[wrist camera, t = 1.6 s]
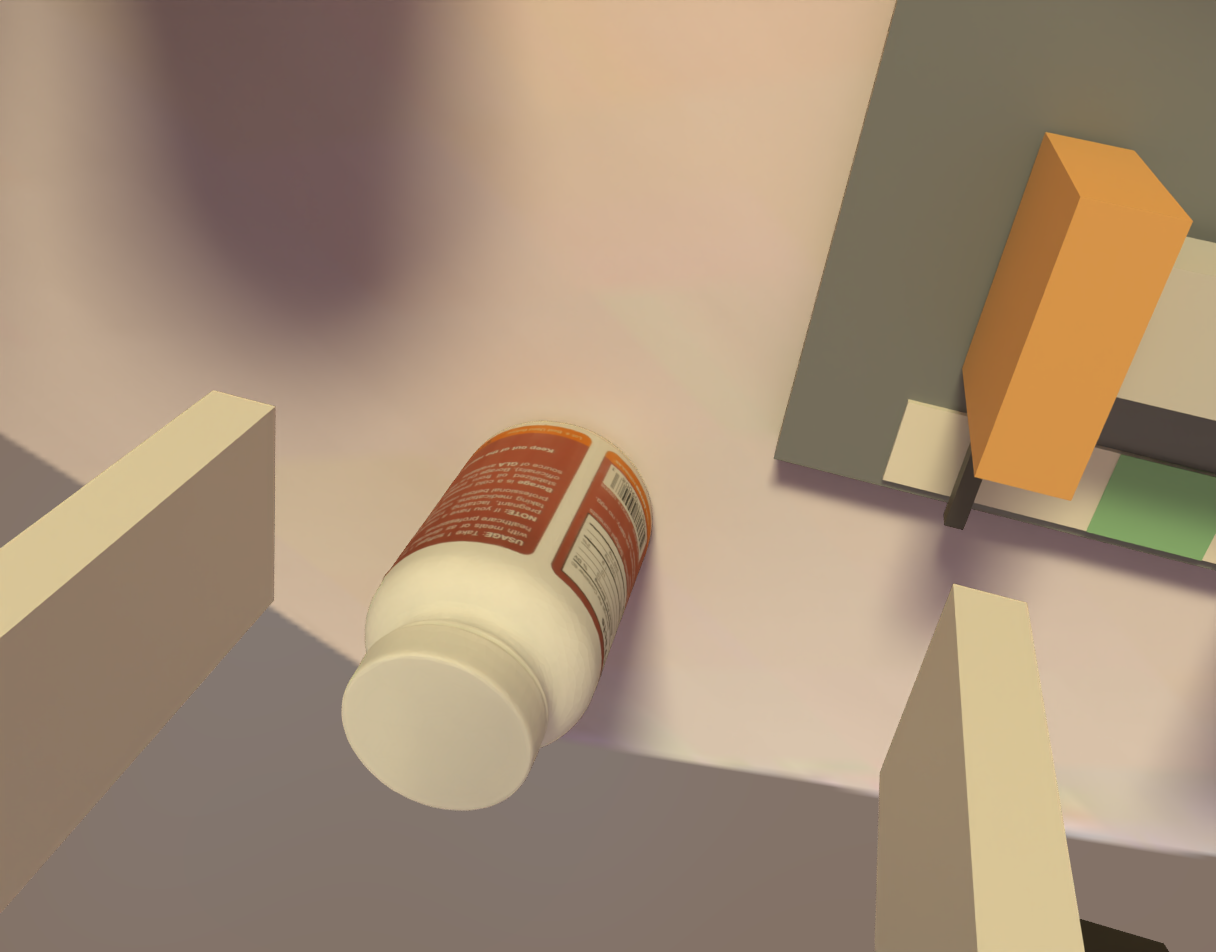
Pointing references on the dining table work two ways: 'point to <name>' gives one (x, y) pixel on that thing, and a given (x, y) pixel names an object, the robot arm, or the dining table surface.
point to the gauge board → (975, 240)
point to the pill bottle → (498, 616)
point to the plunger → (1084, 321)
